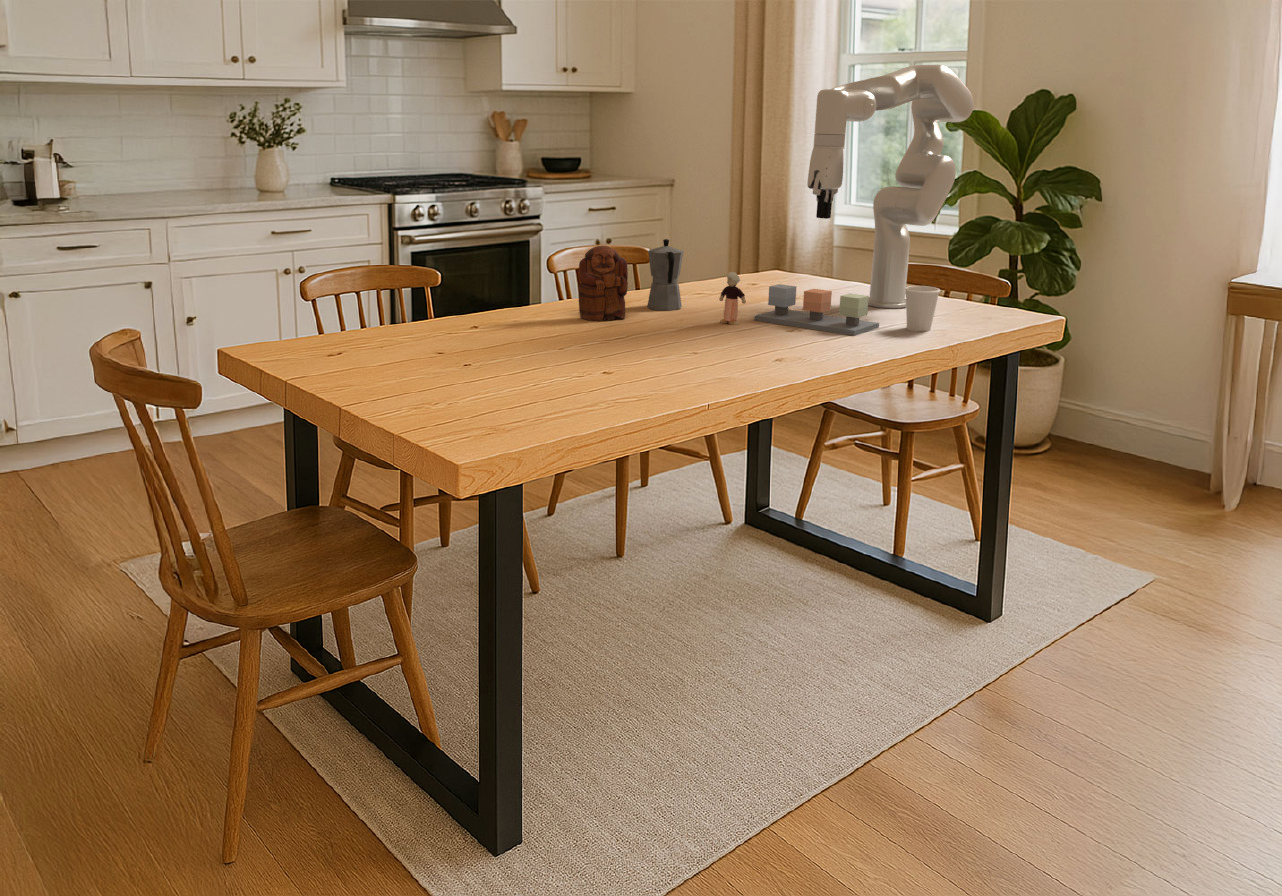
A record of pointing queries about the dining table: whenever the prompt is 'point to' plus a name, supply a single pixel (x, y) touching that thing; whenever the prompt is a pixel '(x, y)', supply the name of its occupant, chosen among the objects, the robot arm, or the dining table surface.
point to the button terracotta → (817, 300)
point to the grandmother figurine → (731, 299)
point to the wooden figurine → (602, 284)
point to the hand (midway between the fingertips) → (823, 217)
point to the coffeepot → (665, 278)
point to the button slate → (782, 295)
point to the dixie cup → (920, 307)
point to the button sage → (853, 305)
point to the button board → (817, 321)
